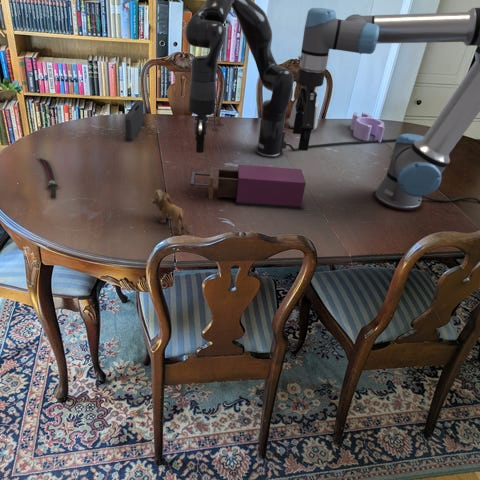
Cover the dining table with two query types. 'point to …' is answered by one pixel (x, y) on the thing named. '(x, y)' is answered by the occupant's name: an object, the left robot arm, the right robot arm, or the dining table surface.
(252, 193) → the purple rectangular box
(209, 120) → the miniature windmill
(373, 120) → the clip
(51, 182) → the sword
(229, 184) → the drawer
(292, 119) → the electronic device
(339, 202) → the dining table surface
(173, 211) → the lion figurine
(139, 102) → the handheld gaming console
